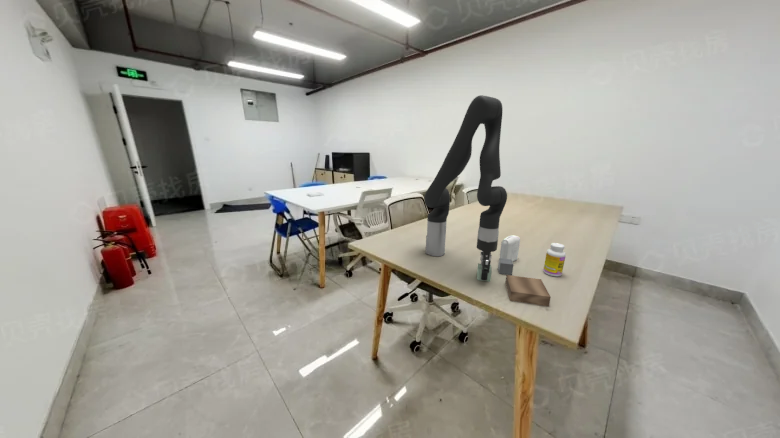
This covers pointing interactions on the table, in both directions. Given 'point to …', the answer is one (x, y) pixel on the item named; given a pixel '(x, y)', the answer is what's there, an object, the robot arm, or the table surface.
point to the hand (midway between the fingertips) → (483, 276)
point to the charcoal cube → (505, 266)
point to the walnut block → (527, 290)
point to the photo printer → (510, 247)
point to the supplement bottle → (554, 260)
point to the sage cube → (481, 273)
